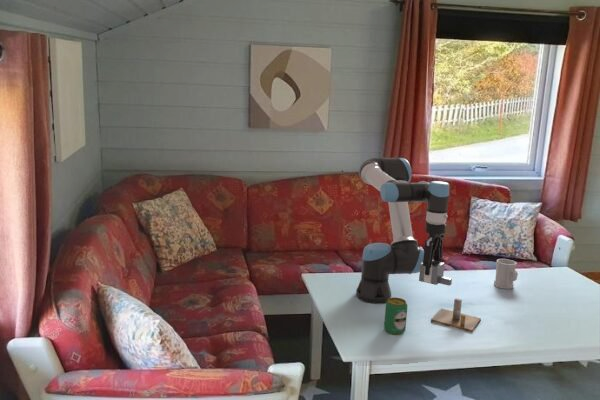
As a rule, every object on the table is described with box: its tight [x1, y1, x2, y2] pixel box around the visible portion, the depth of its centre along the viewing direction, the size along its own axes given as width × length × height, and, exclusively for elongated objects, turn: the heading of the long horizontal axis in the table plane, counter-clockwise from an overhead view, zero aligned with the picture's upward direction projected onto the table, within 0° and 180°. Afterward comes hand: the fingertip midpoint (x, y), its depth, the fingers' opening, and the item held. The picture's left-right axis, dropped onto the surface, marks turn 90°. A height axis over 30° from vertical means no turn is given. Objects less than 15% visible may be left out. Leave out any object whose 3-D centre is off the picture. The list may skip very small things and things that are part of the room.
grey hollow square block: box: [418, 260, 453, 287], centre depth 211 cm, size 11×7×7 cm, turn 56°
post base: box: [430, 298, 482, 333], centre depth 217 cm, size 16×13×9 cm
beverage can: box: [383, 297, 408, 336], centre depth 206 cm, size 8×8×12 cm
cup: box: [493, 258, 519, 290], centre depth 257 cm, size 10×9×12 cm
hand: (430, 279), depth 213 cm, fingers closed on grey hollow square block, 7 cm apart
